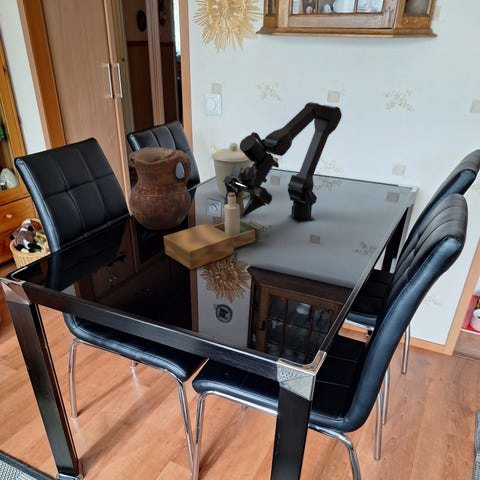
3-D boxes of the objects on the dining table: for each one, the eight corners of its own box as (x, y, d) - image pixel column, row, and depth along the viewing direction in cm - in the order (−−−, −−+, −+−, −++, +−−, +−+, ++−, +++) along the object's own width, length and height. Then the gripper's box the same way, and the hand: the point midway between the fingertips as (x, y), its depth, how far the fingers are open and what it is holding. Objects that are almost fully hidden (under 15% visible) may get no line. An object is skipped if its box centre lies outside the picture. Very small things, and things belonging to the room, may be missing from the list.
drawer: (245, 225, 153) (245, 214, 151) (270, 236, 145) (271, 225, 143) (200, 240, 143) (199, 228, 141) (224, 253, 135) (224, 241, 132)
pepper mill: (243, 219, 161) (243, 189, 154) (227, 218, 162) (226, 189, 155) (246, 213, 166) (246, 184, 159) (231, 212, 167) (230, 184, 160)
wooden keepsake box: (207, 239, 146) (206, 223, 142) (233, 253, 137) (233, 236, 133) (165, 253, 137) (163, 236, 134) (190, 269, 128) (189, 251, 125)
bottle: (237, 233, 145) (236, 190, 137) (242, 238, 141) (241, 195, 133) (223, 234, 144) (221, 191, 136) (227, 240, 140) (226, 196, 132)
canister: (263, 193, 185) (264, 141, 174) (241, 205, 173) (240, 150, 161) (228, 186, 194) (227, 136, 182) (204, 197, 181) (201, 144, 169)
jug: (142, 239, 147) (130, 163, 132) (125, 219, 162) (113, 149, 148) (202, 227, 155) (197, 154, 141) (181, 209, 170) (174, 142, 156)
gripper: (227, 149, 138) (200, 191, 138) (266, 160, 126) (237, 206, 126) (245, 170, 146) (221, 209, 147) (284, 182, 134) (257, 225, 135)
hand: (233, 212), depth 138 cm, fingers open, 9 cm apart
